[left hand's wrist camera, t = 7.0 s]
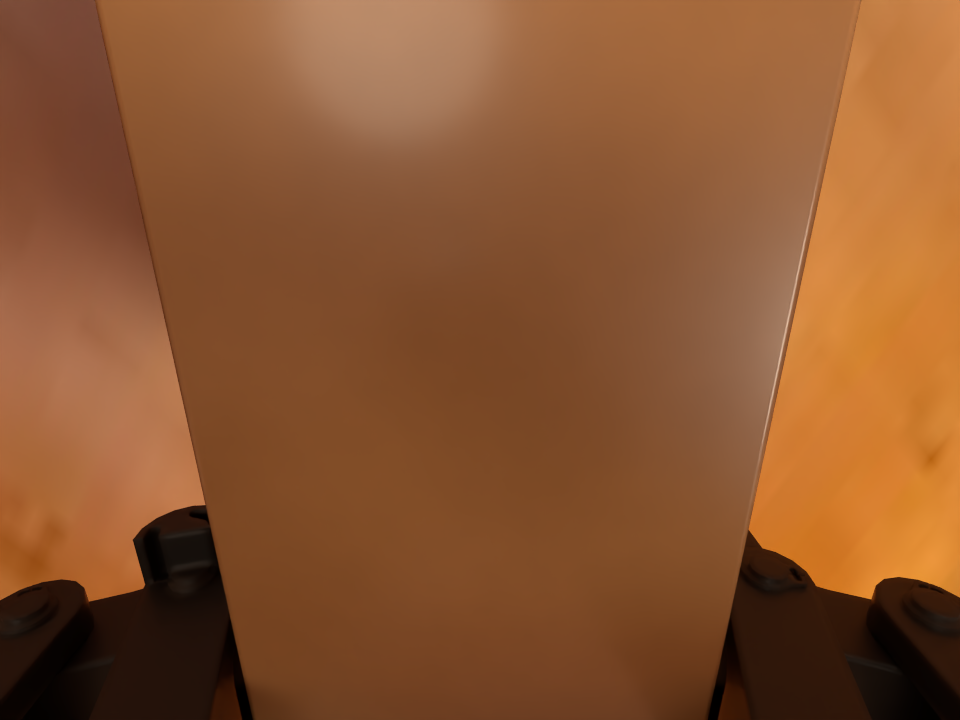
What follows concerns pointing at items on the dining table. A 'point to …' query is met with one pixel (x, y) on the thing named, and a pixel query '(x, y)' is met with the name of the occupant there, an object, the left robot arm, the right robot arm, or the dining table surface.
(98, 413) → the dining table surface
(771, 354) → the bar
